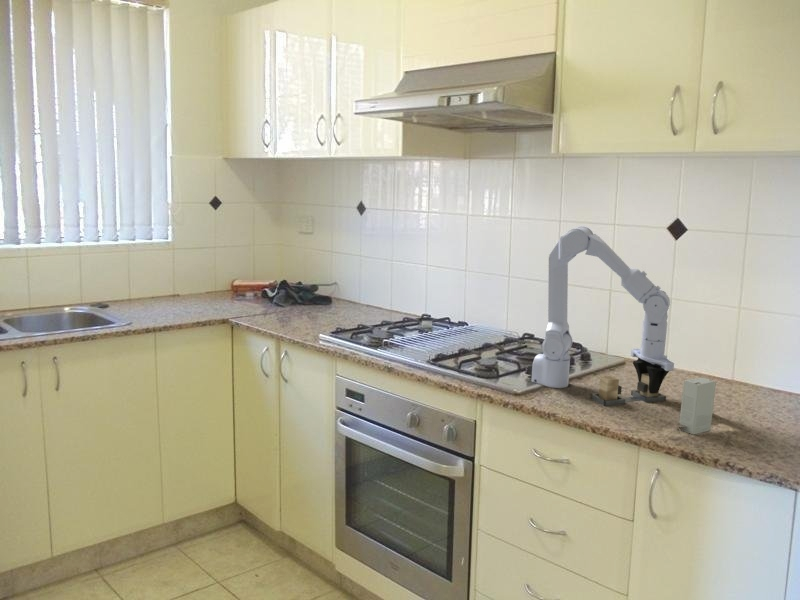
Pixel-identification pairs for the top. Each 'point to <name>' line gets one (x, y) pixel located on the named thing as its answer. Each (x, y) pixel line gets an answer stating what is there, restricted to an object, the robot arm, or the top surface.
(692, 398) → the skincare box
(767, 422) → the top surface
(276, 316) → the top surface
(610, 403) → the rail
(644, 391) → the beige wooden block
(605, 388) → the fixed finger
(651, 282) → the robot arm
